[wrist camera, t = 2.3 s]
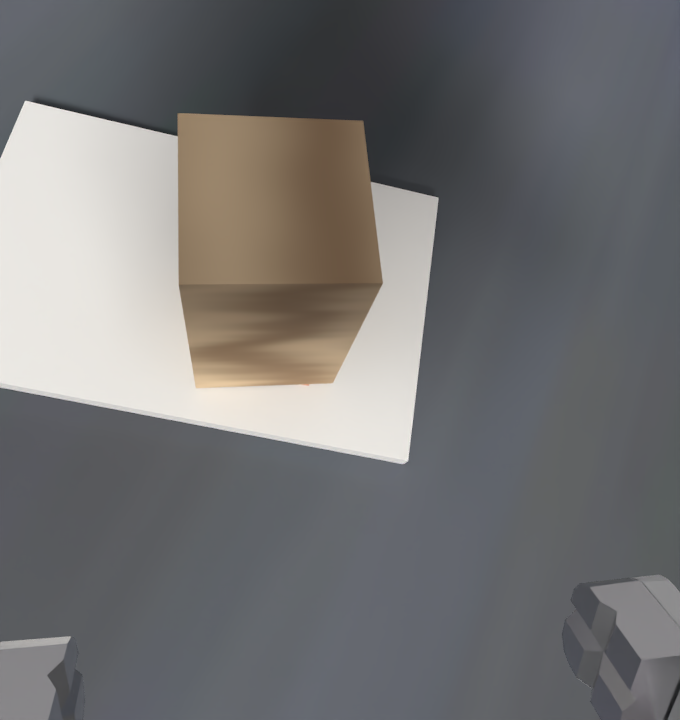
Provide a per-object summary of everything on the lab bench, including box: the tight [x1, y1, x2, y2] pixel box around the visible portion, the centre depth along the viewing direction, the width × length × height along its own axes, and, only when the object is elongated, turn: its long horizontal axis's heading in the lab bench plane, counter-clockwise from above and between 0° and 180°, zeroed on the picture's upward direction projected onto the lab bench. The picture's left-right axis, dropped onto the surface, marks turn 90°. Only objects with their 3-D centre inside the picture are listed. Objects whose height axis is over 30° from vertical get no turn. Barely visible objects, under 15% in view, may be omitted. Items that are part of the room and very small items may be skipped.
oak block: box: [178, 113, 383, 388], centre depth 24 cm, size 6×6×10 cm
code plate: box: [0, 101, 439, 464], centre depth 30 cm, size 21×14×1 cm, turn 81°
